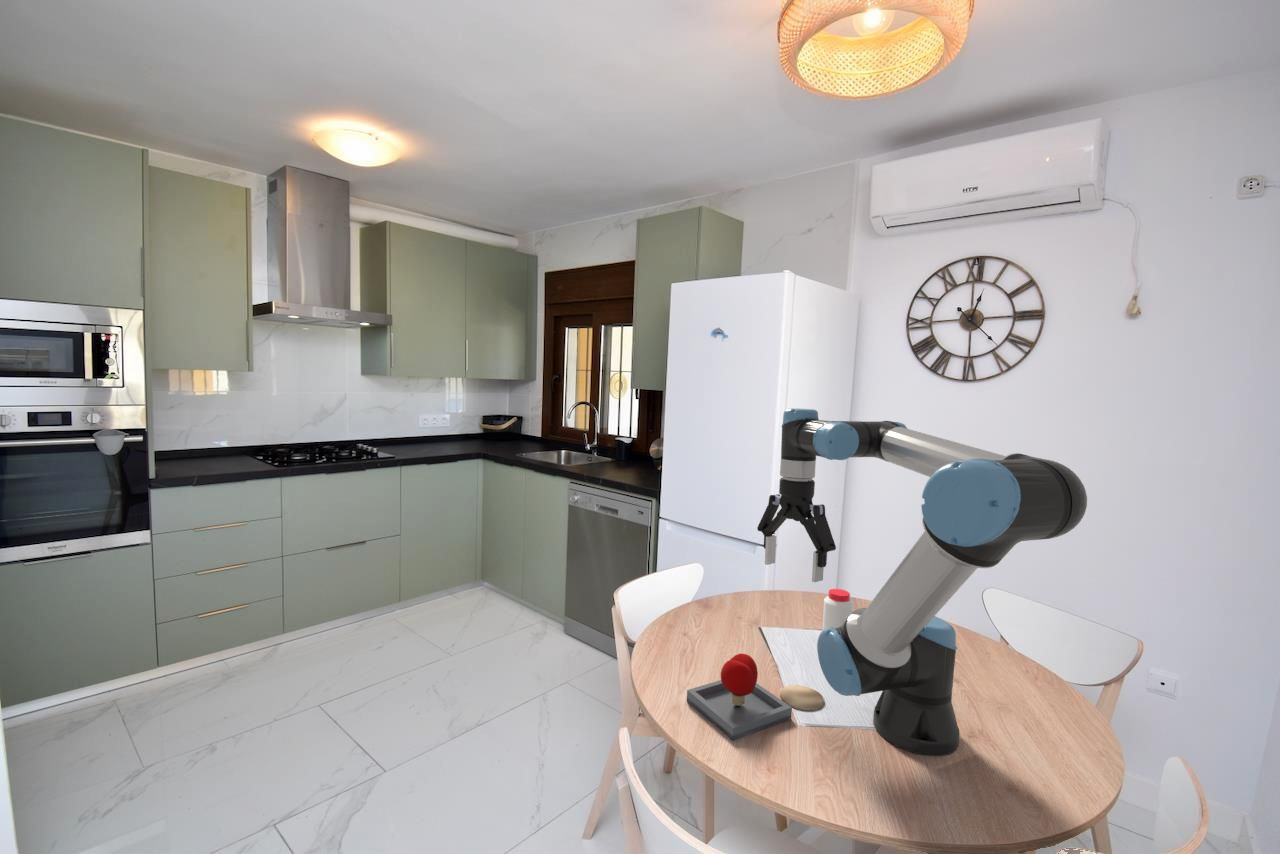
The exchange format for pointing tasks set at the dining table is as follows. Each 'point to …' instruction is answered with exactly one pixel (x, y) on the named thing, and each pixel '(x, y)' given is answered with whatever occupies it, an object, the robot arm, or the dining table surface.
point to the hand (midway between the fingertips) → (792, 572)
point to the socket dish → (738, 709)
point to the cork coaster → (801, 697)
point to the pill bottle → (836, 608)
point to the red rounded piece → (739, 677)
